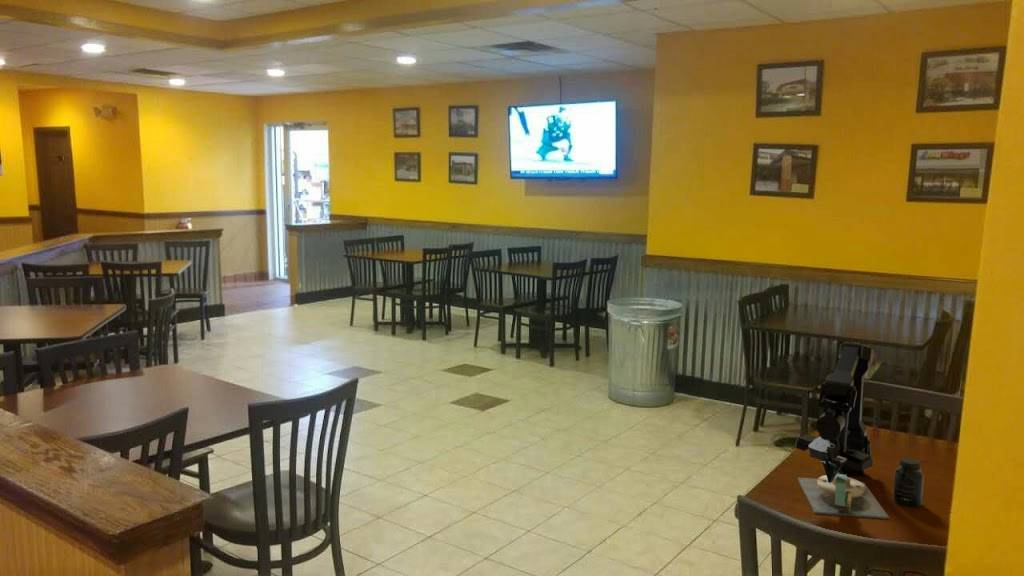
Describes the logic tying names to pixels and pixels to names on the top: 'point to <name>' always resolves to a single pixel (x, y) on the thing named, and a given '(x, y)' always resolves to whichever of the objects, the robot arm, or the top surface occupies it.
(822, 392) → the robot arm
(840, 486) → the flange
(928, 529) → the top surface
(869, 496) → the base
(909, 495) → the supplement bottle
